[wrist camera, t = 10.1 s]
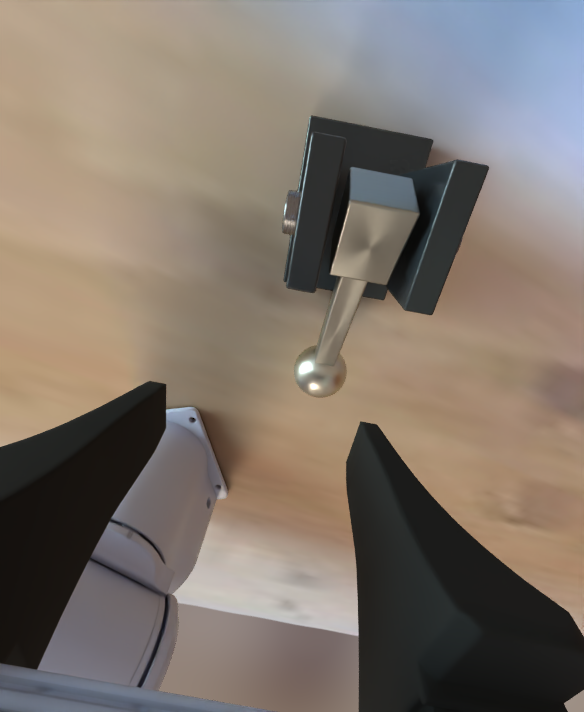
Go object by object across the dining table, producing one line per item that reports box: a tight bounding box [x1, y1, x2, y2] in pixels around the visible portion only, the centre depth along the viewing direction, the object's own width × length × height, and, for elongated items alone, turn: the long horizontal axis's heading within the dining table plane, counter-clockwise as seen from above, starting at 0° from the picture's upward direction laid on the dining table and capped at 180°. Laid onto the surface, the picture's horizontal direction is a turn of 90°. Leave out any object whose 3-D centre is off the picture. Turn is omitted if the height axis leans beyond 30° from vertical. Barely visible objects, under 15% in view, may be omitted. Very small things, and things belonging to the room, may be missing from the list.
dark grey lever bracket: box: [282, 116, 489, 315], centre depth 14 cm, size 8×6×9 cm
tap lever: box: [294, 167, 420, 398], centre depth 15 cm, size 12×3×3 cm, turn 170°
